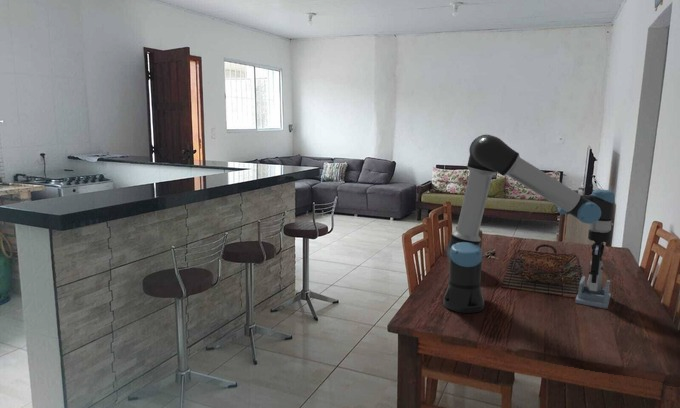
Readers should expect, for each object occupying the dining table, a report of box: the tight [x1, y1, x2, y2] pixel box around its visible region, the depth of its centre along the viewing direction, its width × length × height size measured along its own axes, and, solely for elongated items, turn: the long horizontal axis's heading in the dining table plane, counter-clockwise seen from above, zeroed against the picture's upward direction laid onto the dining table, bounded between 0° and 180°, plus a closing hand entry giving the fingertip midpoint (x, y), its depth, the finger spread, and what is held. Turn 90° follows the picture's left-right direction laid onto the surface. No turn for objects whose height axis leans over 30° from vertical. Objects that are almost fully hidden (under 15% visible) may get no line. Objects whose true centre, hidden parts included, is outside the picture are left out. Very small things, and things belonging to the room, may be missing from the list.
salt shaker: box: [585, 260, 604, 294], centre depth 189 cm, size 6×6×13 cm
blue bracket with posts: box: [574, 275, 612, 310], centre depth 190 cm, size 14×11×8 cm
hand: (594, 287), depth 190 cm, fingers open, 6 cm apart
